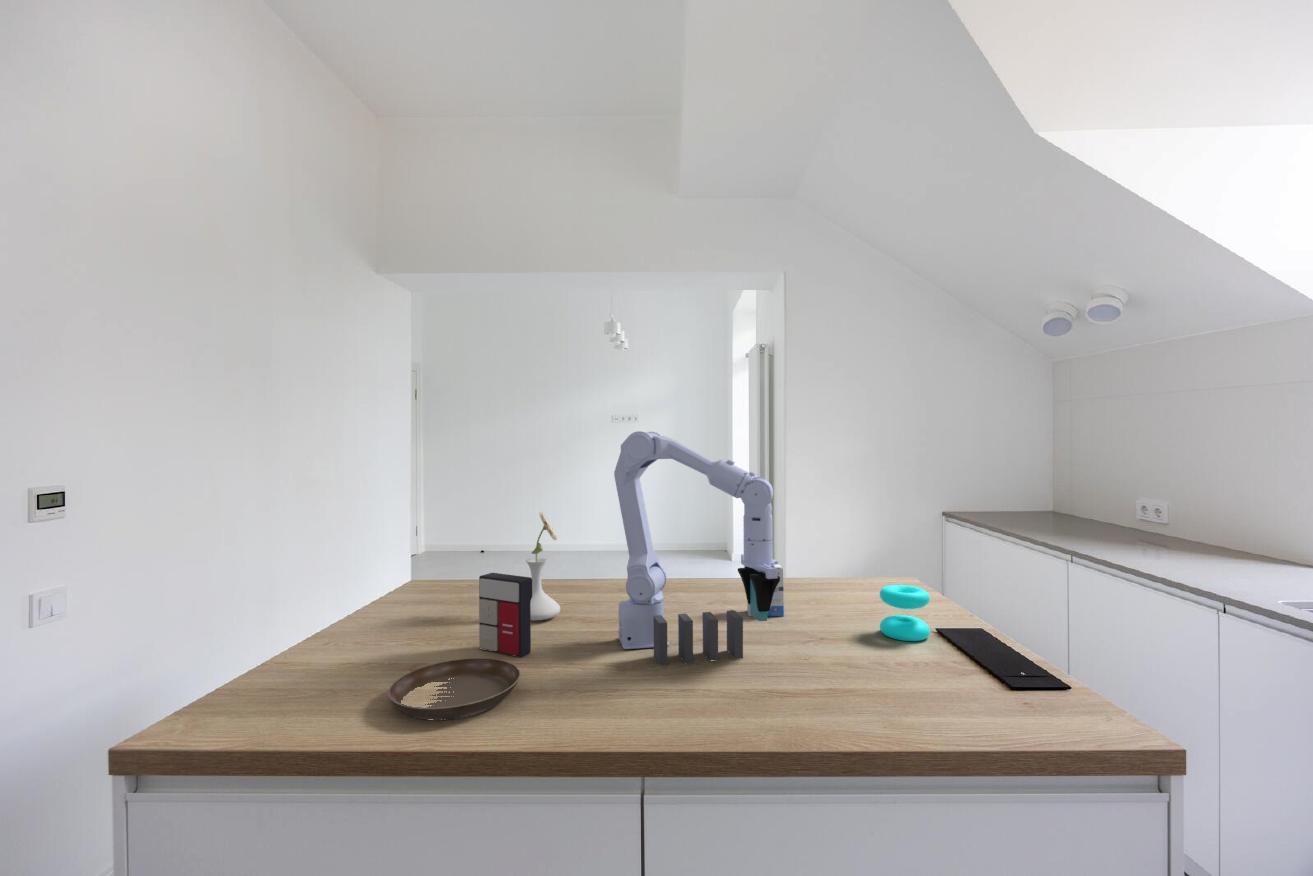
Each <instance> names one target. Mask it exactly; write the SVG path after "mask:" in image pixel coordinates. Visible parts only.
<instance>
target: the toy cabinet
mask: <svg viewBox="0 0 1313 876" xmlns="http://www.w3.org/2000/svg"><path fill="white" fill-rule="evenodd" d="M478 583H479V585H478V590H479V591H478V593H479V594H478V596H479V599H478V620H479V621H478V622H479V625H478V627H479V628H478V632H479V633H478V635H479V636H478V640H479V641H478V644H479V645H478V646H479V649H480V648H482V649H486V650H492V651H495V652H494V653H496V652H499V653H498V654H501V653H503V654H502V655H506V654H507V656H511V655H515V656H519V657H518V658H522V657H525V656H526V655H528V654H530V653H531V648H532V646H531V645H532V643H531V642H532V640H531V639H532V638H531V637H532V636H531V613H530V602H531V598H532V577H529V576H522V575H514V574H513V575H512V574H506V573H505V574H504V573H500V572H499V573H498V572H489V573H486V574H481V575H479V579H478ZM482 649H481V650H482ZM486 650H485V651H486ZM524 655H525V656H524ZM515 656H514V657H515Z"/></svg>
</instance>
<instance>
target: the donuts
mask: <svg viewBox="0 0 1313 876" xmlns="http://www.w3.org/2000/svg"><path fill="white" fill-rule="evenodd" d="M879 597H880V600H882V601H881V602H883V603H884V604H885V605H888V606H890V607H894V608H897V609H900V610H901V609H903V610H916V609H921V608H924V607H926V606H927V605H928V604H929V602H930V598H931V597H930V594H929V593H928V592H927V591H926V590H925V589H923V588H920V587H918V586H913V585H906V584H890V585H885V586H883V587H882V588H881V589H880V590H879ZM879 629H880V632H881V633H882V634H884V635H885V636H886V637H888V638H890V639H893V640H898V641H906V642H919V641H924V640H926V639H928V637H929V636H930V634H931V629H930V627H929V625H928V624H927V623H926V622H925V621H924V620H922V619H920V618H918V617H915V616H911V615H903V614H894V615H889V616H887V617H884V618H883V619H882V620H881V621H880V624H879Z"/></svg>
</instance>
